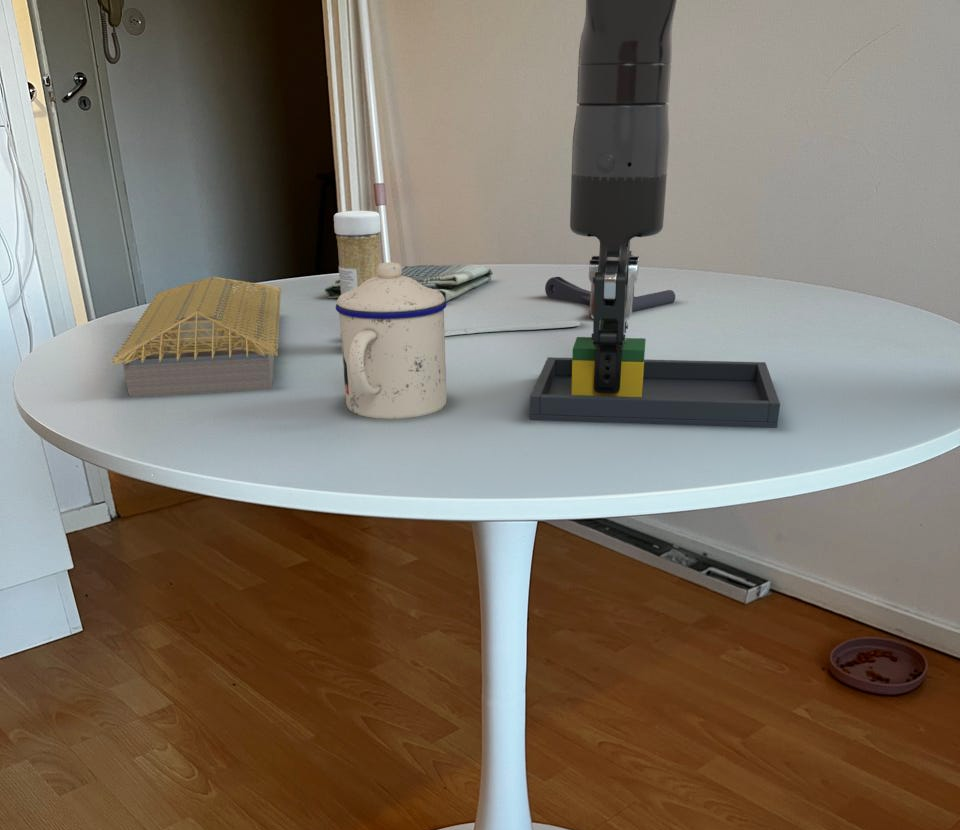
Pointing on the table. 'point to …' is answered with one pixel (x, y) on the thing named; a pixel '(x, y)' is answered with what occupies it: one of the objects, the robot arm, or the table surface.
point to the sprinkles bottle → (357, 247)
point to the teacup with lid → (393, 346)
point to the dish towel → (438, 278)
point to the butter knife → (516, 327)
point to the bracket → (573, 293)
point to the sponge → (629, 368)
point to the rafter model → (204, 339)
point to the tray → (666, 395)
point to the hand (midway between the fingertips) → (608, 383)
